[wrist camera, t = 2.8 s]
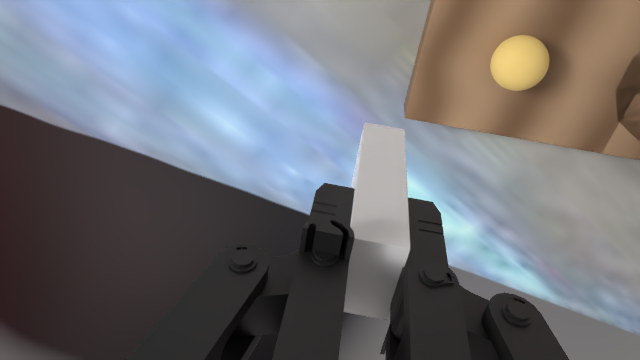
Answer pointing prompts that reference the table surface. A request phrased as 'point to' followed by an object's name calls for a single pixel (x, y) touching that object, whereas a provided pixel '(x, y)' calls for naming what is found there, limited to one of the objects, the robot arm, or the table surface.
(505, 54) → the ball
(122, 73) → the table surface
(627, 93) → the board
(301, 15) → the table surface
